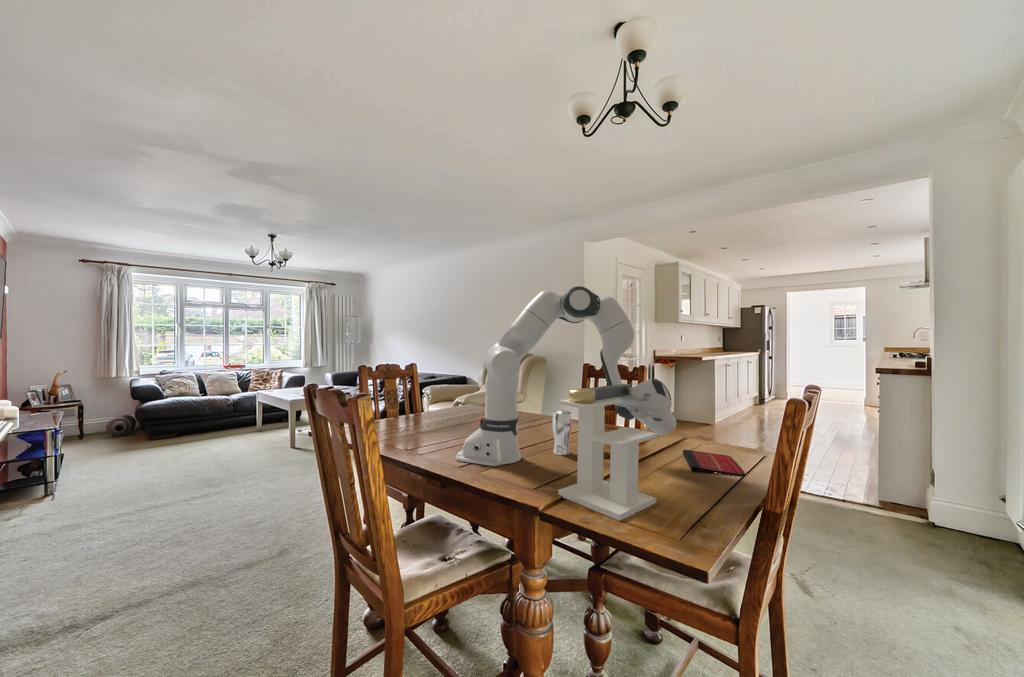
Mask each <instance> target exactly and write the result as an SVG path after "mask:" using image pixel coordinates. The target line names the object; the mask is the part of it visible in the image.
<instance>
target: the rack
mask: <svg viewBox="0 0 1024 677" xmlns="http://www.w3.org/2000/svg"><path fill="white" fill-rule="evenodd" d="M622 402H623V399H619V398H609V399H603V400H596V401H595V403H589V404H581V403H573V402H569V398H568V399H560V400H559V402H558V403H559V405H561V406H562V405H563V406H567V407H571V408H575V409H576V408H577V409H578V411H577V412H578V414H577V416H578V417H577V418H578V419H577V469H576V470H577V472H576V473H577V475H576V479H577V480H576V483H575V484H572V485H569V486H566V487H563V488H560V489H558V490H557V495H558V494H559V495H562V496H563V497H562V498H563V499H566V500H568V501H571V502H573V503H575V504H578V505H580V506H583V507H586V508H588V509H590V510H592V511H595V512H597V513H599V514H602V515H604V516H607V517H609V518H610V519H611V518H612V519H614V520H616V521H618V522H619V521H623V520H624V519H626V518H628V517H631V516H633V515H635V514H637V513H639V512H641V511H640V510H642V511H643V509H644V510H646V509H648V508H650V507H652V506H654V505H656V504H657V497H654V496H651V495H649V494H645V493H642V492H640V491H639V455H640V454H639V453H640V452H639V448H640V447H639V446H640V443H643V442H646V441H650V440H653V439H656V438H658V436H659V434H658V433H655V432H653V431H647V430H644V429H639V428H634V427H630V426H629V427H628V426H627V427H623V428H620V429H615V430H611V431H606V432H605V407H606V406H611V405H614V404H618V403H622ZM605 445H609V446H610V456H609V457H610V458H609V459H610V461H609V462H610V463H609V467H610V468H609V481H607V480H604V457H605V456H604V452H605V451H604V449H605V448H604V446H605ZM655 503H656V504H655ZM653 504H654V505H653ZM651 505H652V506H651ZM649 506H650V507H649ZM647 507H648V508H647ZM645 508H646V509H645ZM638 511H639V512H638ZM636 512H637V513H636Z"/></svg>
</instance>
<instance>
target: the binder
mask: <svg viewBox="0 0 1024 677" xmlns="http://www.w3.org/2000/svg"><path fill="white" fill-rule="evenodd" d="M682 455H683V458H684V459H685V461H686V463H687V465H688V467H689V469H690V470H691V473H693V472H694V471H699V470H701V471H709V472H708V473H711V472H717V473H721V474H729V475H728V476H732V475H734V477H745V473H744V471H743V469H742V468H741V467H740V465H739V464H738V463H737V462H736V461H735V459H733V457H731V456H729V455H727V454H718V453H712V452H707V451H706V452H704V451H700V450H699V451H698V450H693V449H692V450H691V449H682ZM701 471H700V472H701Z"/></svg>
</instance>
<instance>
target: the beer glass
mask: <svg viewBox="0 0 1024 677" xmlns="http://www.w3.org/2000/svg"><path fill="white" fill-rule="evenodd" d="M552 412H553V413H552V433H553V441H554V444H553V445H554V447H553V454H555V455H557V456H569V455H570V454H571V450H570V438H571V435H572V434H571V433H572V427H573V424H572V423H573V420H572V418H573V417H572V412H571V411H570V410H561V409H559V410H554V411H552Z"/></svg>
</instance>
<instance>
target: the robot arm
mask: <svg viewBox="0 0 1024 677" xmlns="http://www.w3.org/2000/svg"><path fill="white" fill-rule="evenodd" d="M557 319H559V320H563V321H565V322H567V323H571V324H578V323H579V324H580V323H582V322H583V321H585V320H589V321H590V322H592V323H593V325H594V326H595V327H596V329H597V332H598V334H599V335H600V338H601V343H602V349H601V350H600V352H599V355H600V362H601V365H602V368H603V371H604V374H605V378H606V381H607V383H608V386H610V385H617V384H623V381H622V378H621V376H620V375H621V374H620V372H619V370H618V363H619V360H620V359H621V358H622V356H623V355H624V354H625V353H626V352H627V351H628V350H629V348H631V346H632V344H633V343H634V340H635V334H636V333H635V330H634V328H633V325H632V323H631V321H630V319H629V317H628V315H627V314H626V311H624V309H623V308H622V307H621V305H620V304H619V302H618V301H617V300H616V298H614V297H612V296H609V295H608V296H606V295H605V296H602V297H600V296H599V295H597V294H596V293H594V292H592V291H591V290H590V289H589V288H587V287H584V286H581V285H578V286H573V287H571V288H569V289H568V290H567V291H566V292H565V293H564V294H562V295H561V294H557V293H556V292H555V291H552V290H548V289H545V290H542V291H540V292H539V293H537V295H535V296H534V297H533V298H532V299H531V300H530V301H529V302H528V303H527V304H526V305H525V307H524V308H523V309H522V311H521V312H520V313H519V314H518V316H517V317H516V318H515V320H514V321H513V322H512V323H511V324H510V326H508V328H506V330H505V331H504V332H503V334H502V335H500V336H499V338H498V339H497V340H496V341H495V342H494V344H493V345H491V347H490V348H489V349H488V351H487V352H486V353H485V355H484V366H485V368H486V386H485V396H484V397H485V398H484V399H485V402H484V403H485V404H484V408H485V409H484V410H485V411H484V412H485V413H484V415H483V416H481V418H480V419H479V421H478V425H479V428H478V429H476V430H475V431H474V432H473V433H471V434H470V435H469V436H467V437H466V438H465V440H464V442H463V447H462V450H459V451H458V452H457V453H456V455H455V460H456V461H458V462H462V463H464V462H465V463H471V464H478V465H481V466H482V465H483V466H490V467H498V466H502V465H507V464H513V463H517V462H518V461H521V459H522V456H521V453H520V446H519V441H518V440H519V438H518V434H519V417H518V392H519V386H520V385H519V384H520V373H521V360H522V359H523V358H524V357H525V356H526V355H527V354H528V353H529V352H530V351H531V350H532V349H533V348H534V347H535V346H537V344H538V343H539V342H540V340H541V339H542V338H543V336H544V335H545V334H546V332H547V331H548V330H549V329H550V328H551V326H552V324H554V322H555V321H556V320H557ZM629 393H630V394H631V395H628V396H621V397H615V398H619V399H623V402H622V403H618V404H613V406H614V408H615V409H614V410H615V411H616V413H617V415H618V416H619V417H621V418H622V419H626V420H634V419H636V420H637V421H639V422H640V423H642V424H643V425H644V426H645V427H646V428H648V429H649V430H651V432H653V433H658V435H661V436H666V435H669V434H671V433H673V432H674V430H675V429H676V428H677V420H676V417H675V416H674V414H673V413H672V411H671V409H672V405H673V402H672V397H671V394H670V391H669V389H668V387H667V386H666V385H665V384H664V383H663V382H662V381H661V380H659V379H657V378H649V379H647V380H644V381H641V382H640V383H638V384H636V385H633V386H632V387H630V390H629Z"/></svg>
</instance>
